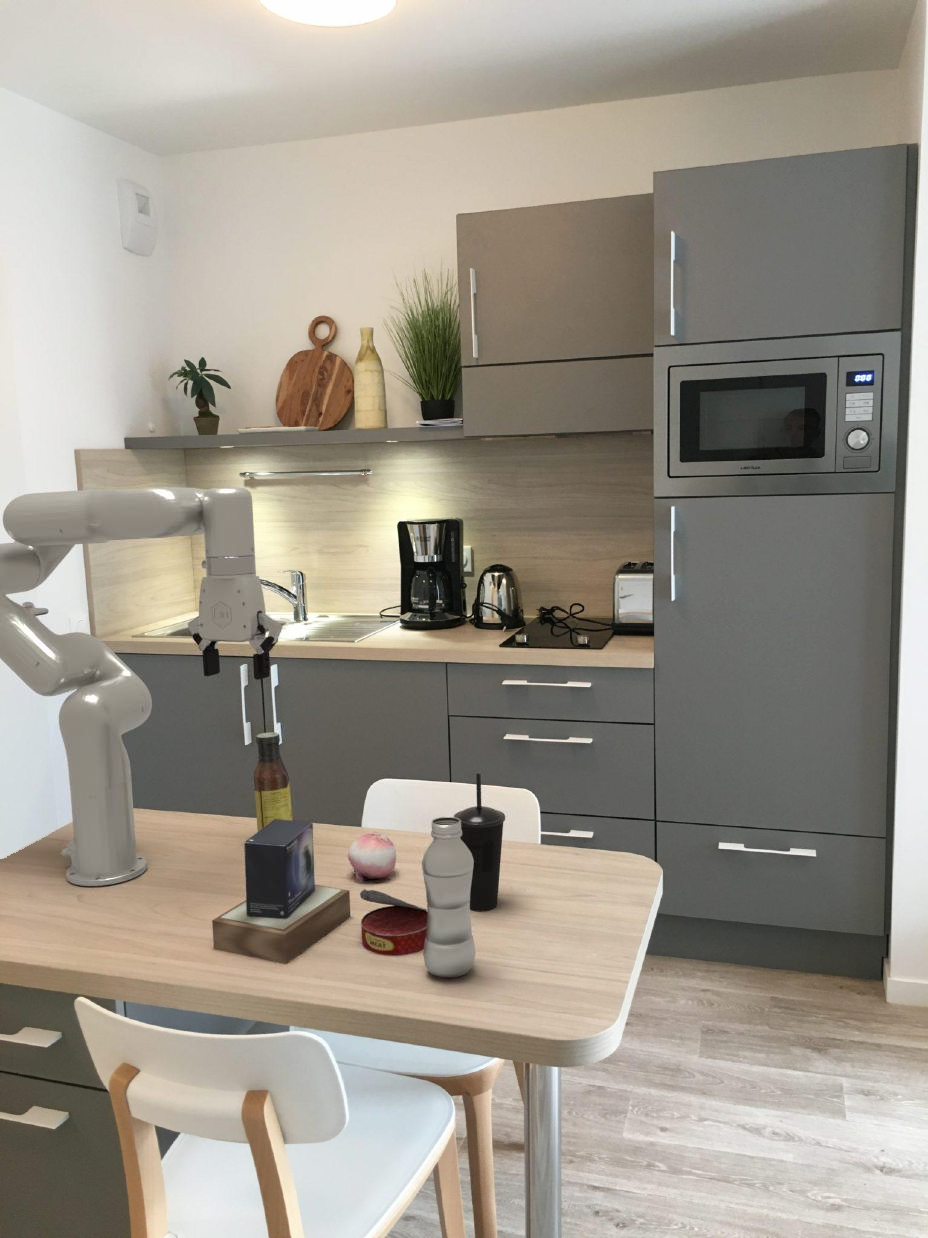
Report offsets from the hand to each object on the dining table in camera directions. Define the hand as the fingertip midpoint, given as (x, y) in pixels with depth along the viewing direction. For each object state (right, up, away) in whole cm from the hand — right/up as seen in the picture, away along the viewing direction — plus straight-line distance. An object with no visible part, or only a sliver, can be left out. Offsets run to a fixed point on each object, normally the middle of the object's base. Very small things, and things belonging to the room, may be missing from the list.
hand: (236, 676), depth 157 cm
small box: (+10, -31, -16) cm, 37 cm away
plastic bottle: (+34, -36, -29) cm, 58 cm away
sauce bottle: (+2, -31, +21) cm, 38 cm away
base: (+10, -35, -16) cm, 40 cm away
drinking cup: (+38, -34, -8) cm, 52 cm away
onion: (+21, -33, +5) cm, 39 cm away
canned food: (+26, -36, -19) cm, 48 cm away
